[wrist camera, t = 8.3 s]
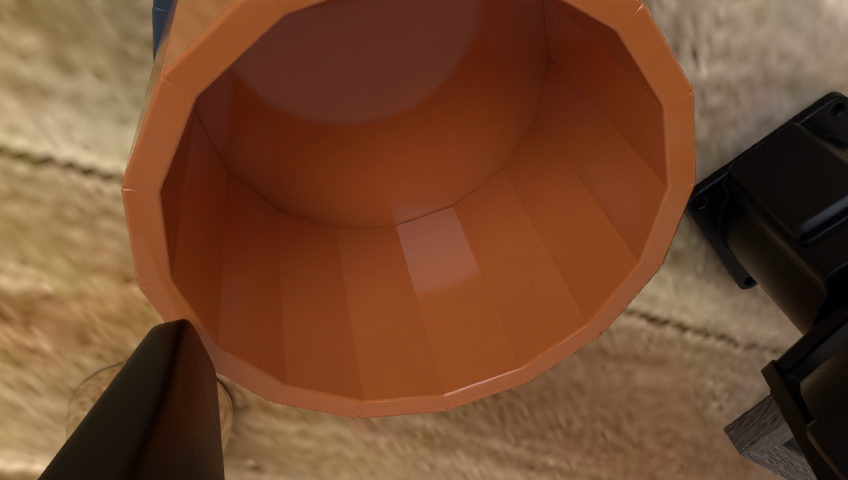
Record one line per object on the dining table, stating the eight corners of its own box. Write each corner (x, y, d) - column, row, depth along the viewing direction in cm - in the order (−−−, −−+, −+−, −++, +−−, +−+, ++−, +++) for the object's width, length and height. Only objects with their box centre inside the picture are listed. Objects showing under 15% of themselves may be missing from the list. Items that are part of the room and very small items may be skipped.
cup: (621, 77, 14) (771, 224, 10) (357, 279, 15) (393, 472, 11) (398, -267, 10) (501, -252, 6) (75, 61, 11) (-16, 244, 7)
